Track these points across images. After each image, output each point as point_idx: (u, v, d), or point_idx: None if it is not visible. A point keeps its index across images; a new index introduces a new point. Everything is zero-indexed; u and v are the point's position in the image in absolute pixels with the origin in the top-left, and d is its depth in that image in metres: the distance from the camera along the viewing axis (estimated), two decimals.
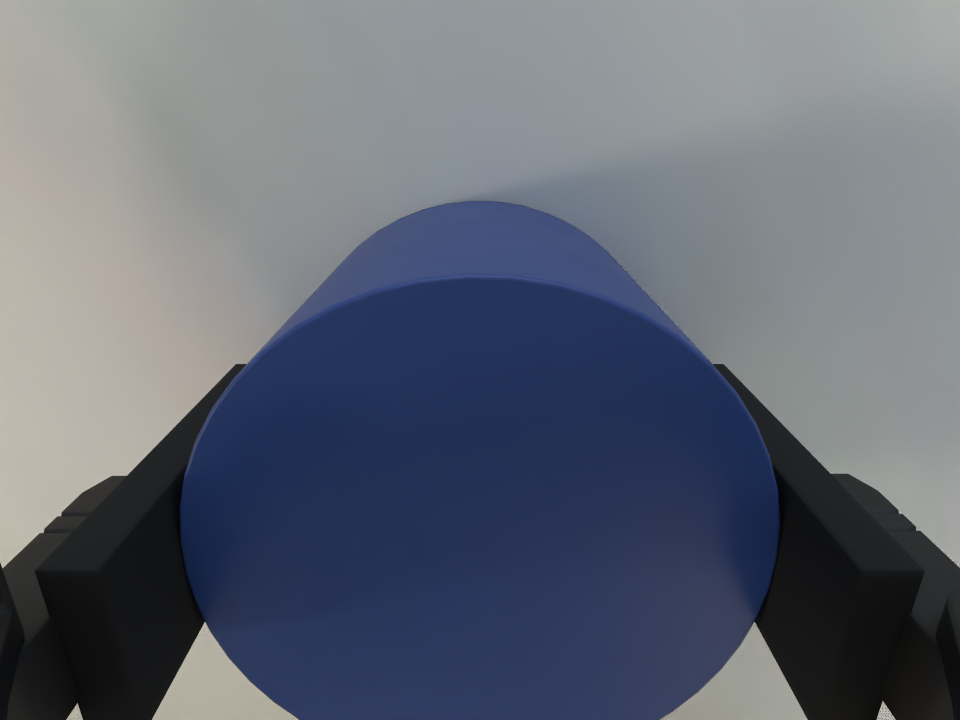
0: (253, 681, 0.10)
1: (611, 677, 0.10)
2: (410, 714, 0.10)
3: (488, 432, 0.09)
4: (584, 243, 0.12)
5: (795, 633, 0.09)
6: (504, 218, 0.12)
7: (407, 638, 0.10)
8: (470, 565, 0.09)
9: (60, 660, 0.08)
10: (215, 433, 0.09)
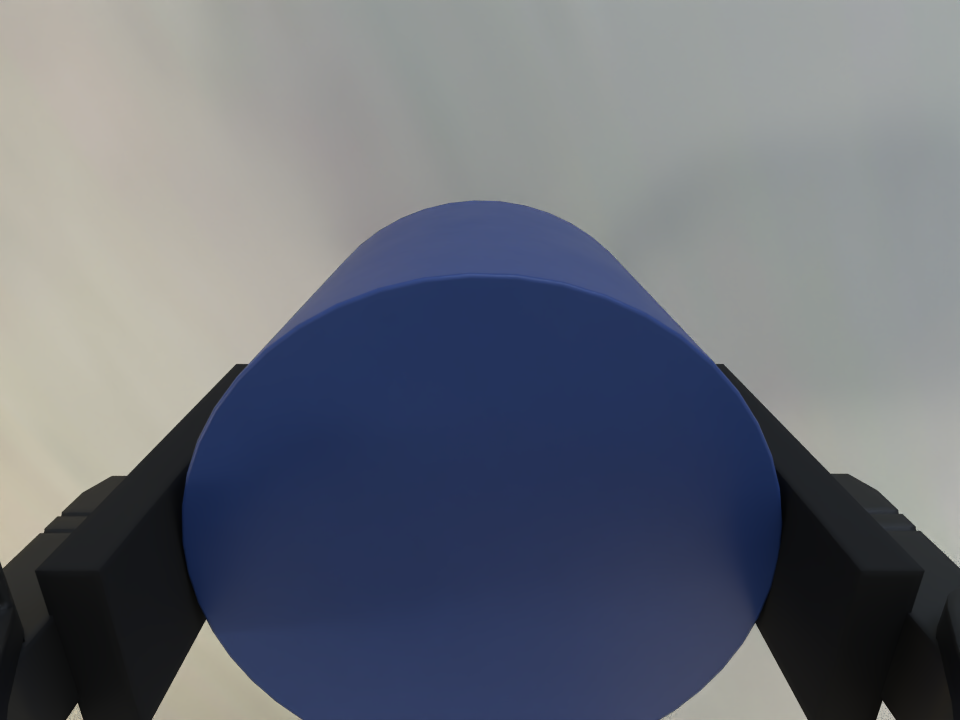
0: (255, 680, 0.10)
1: (613, 676, 0.10)
2: (412, 713, 0.10)
3: (489, 432, 0.09)
4: (586, 242, 0.12)
5: (795, 633, 0.09)
6: (506, 217, 0.12)
7: (409, 637, 0.10)
8: (472, 564, 0.09)
9: (60, 660, 0.08)
10: (218, 432, 0.09)
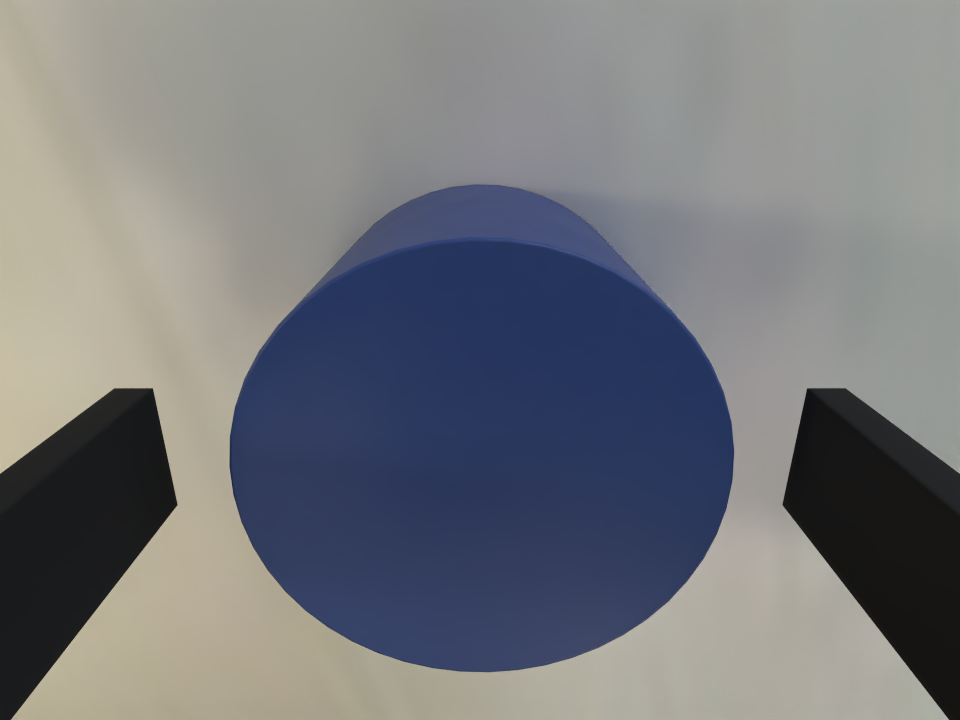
0: (288, 591, 0.12)
1: (593, 588, 0.12)
2: (421, 621, 0.12)
3: (488, 372, 0.10)
4: (573, 220, 0.14)
5: None
6: (503, 198, 0.14)
7: (419, 552, 0.12)
8: (473, 486, 0.11)
9: None
10: (262, 372, 0.10)
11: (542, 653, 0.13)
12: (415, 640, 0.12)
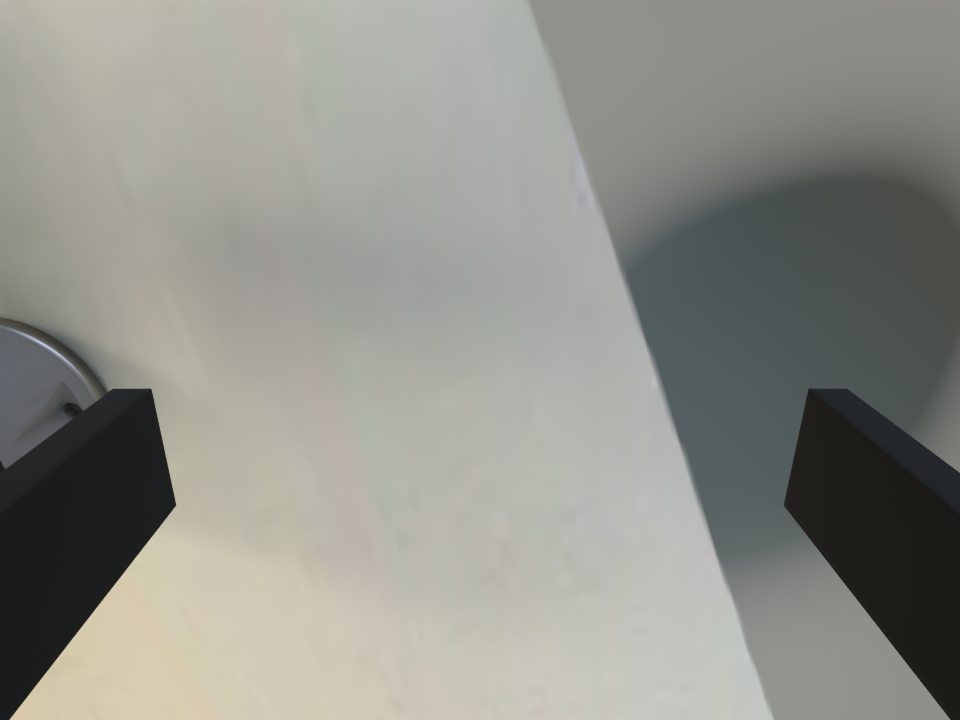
0: None
1: None
2: None
3: None
4: None
5: None
6: None
7: None
8: None
9: None
10: None
11: None
12: None
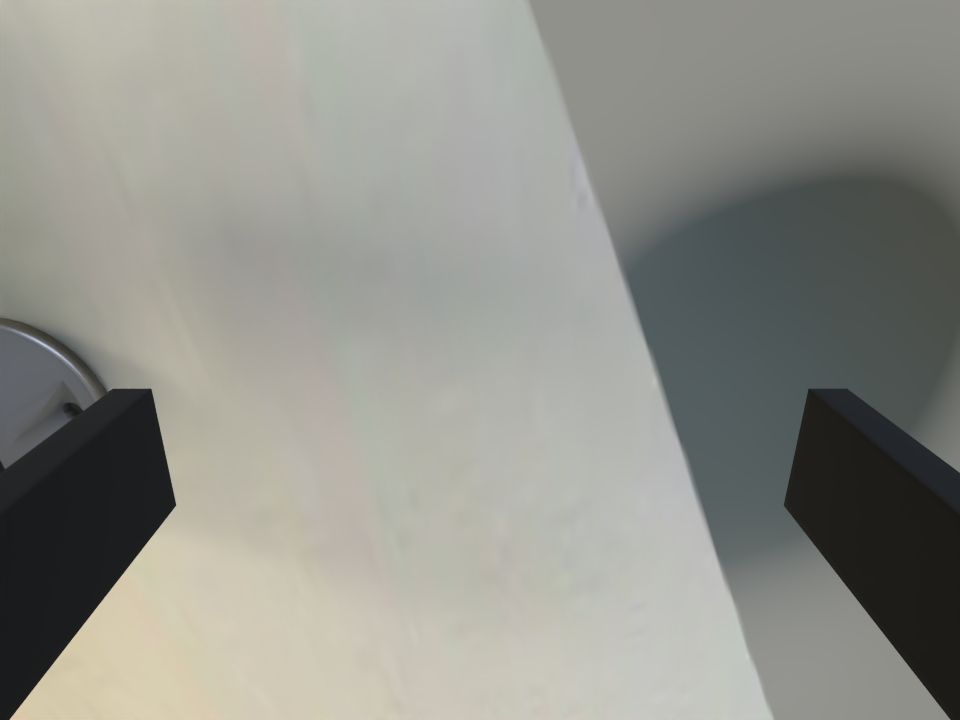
0: None
1: None
2: None
3: None
4: None
5: None
6: None
7: None
8: None
9: None
10: None
11: None
12: None
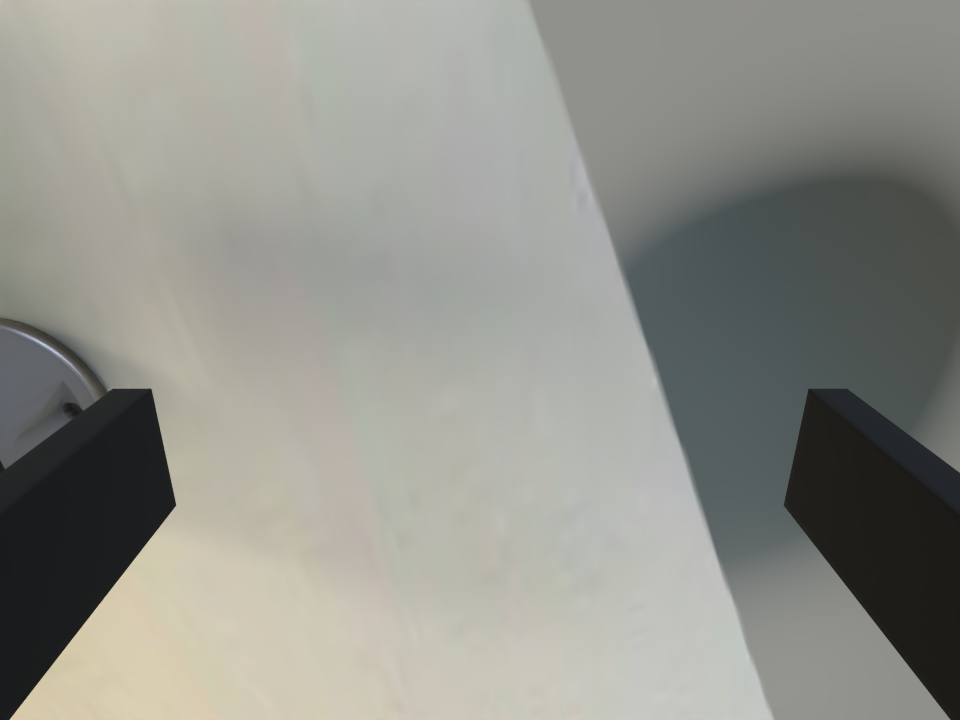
0: None
1: None
2: None
3: None
4: None
5: None
6: None
7: None
8: None
9: None
10: None
11: None
12: None
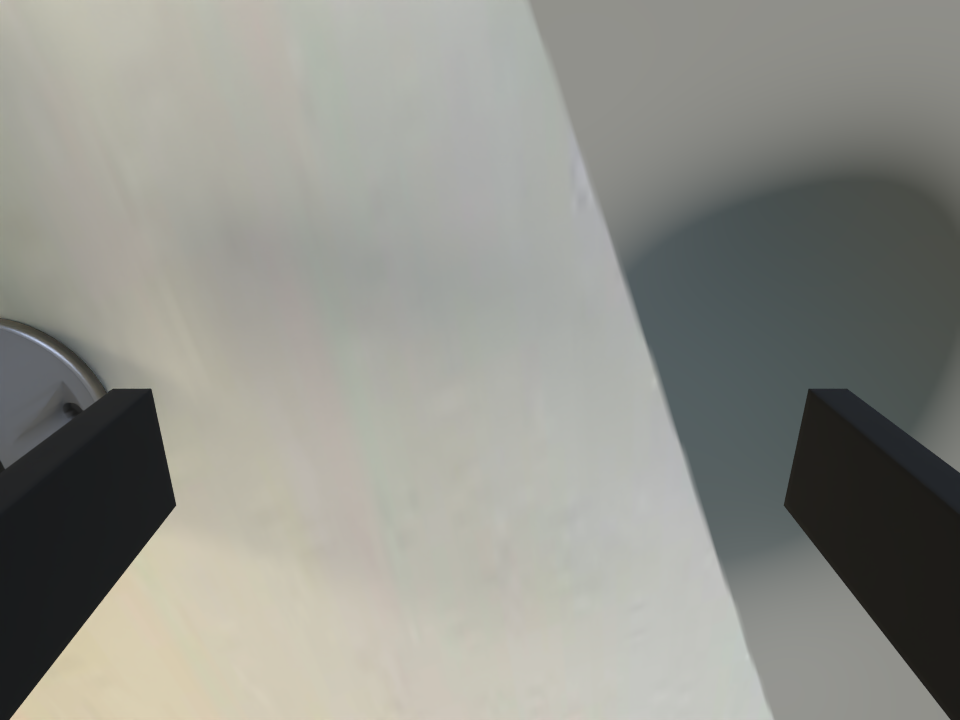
0: None
1: None
2: None
3: None
4: None
5: None
6: None
7: None
8: None
9: None
10: None
11: None
12: None
